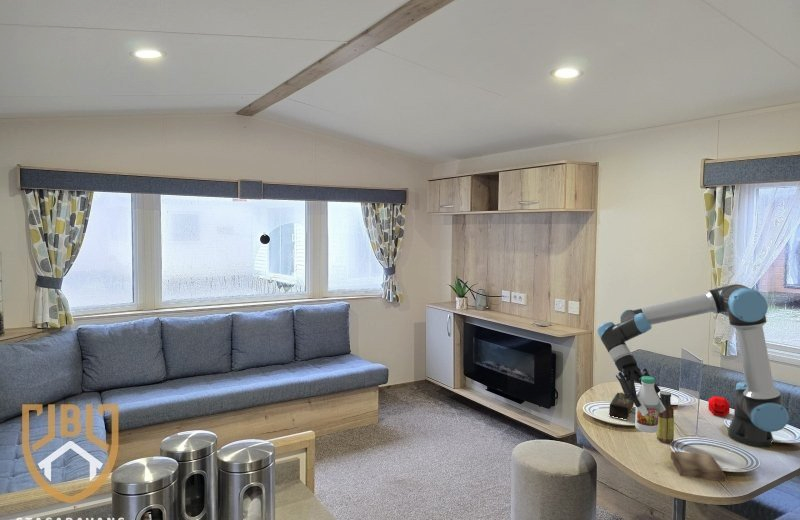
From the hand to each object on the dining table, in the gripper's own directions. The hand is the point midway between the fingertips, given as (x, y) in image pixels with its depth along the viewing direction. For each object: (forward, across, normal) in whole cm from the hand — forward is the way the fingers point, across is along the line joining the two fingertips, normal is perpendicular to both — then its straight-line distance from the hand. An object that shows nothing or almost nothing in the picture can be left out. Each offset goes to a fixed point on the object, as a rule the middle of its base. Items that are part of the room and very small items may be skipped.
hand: (654, 412), depth 190 cm
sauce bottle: (+5, -17, -21) cm, 27 cm away
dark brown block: (-15, -23, -42) cm, 50 cm away
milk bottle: (+3, 0, -8) cm, 9 cm away
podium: (+20, -10, -5) cm, 23 cm away
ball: (-3, -62, -30) cm, 69 cm away
